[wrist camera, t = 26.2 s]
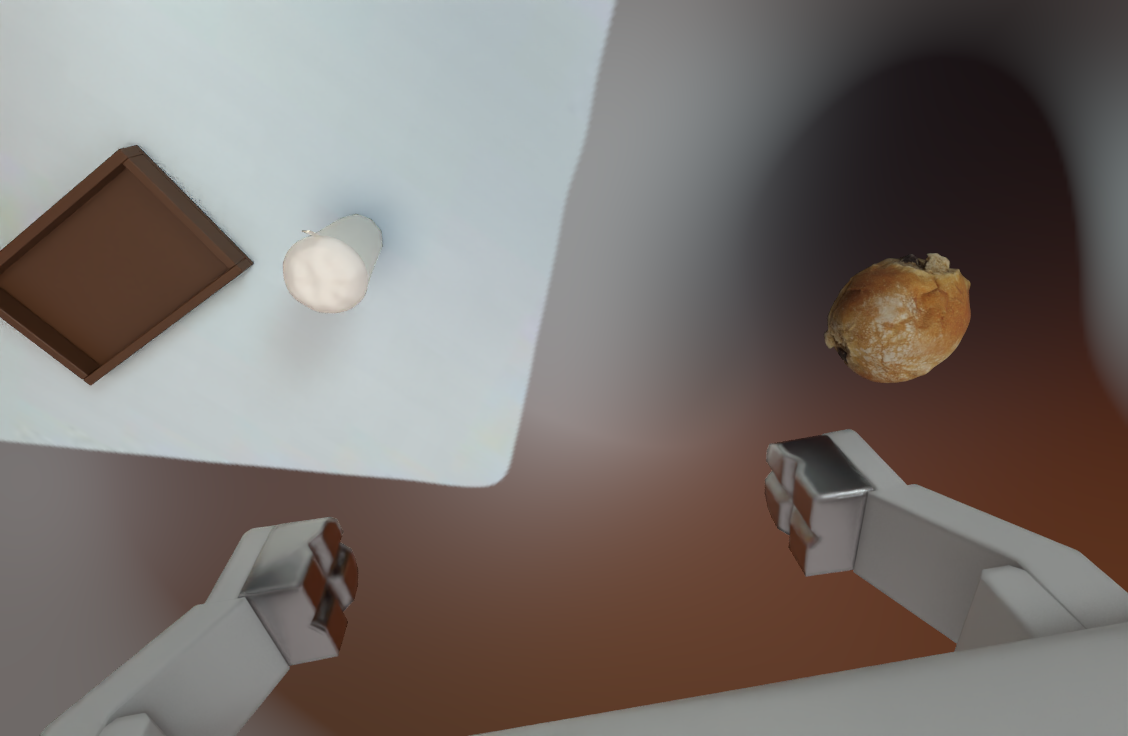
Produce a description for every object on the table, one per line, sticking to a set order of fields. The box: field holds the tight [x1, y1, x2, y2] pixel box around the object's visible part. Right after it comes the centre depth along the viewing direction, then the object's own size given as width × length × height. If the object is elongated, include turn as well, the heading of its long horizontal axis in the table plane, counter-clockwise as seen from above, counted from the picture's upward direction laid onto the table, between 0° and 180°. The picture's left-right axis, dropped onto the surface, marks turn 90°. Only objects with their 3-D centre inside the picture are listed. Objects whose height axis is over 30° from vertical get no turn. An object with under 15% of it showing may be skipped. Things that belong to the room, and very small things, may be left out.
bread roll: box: [824, 253, 971, 383], centre depth 43 cm, size 10×10×8 cm
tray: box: [0, 145, 253, 385], centre depth 37 cm, size 9×15×2 cm, turn 123°
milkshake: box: [283, 214, 383, 313], centre depth 34 cm, size 4×5×10 cm
